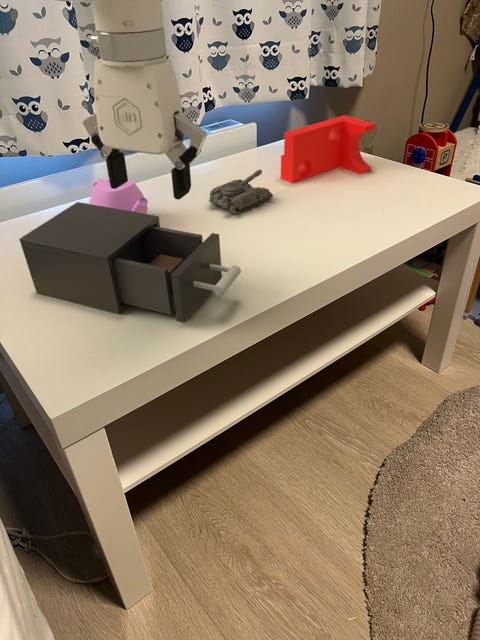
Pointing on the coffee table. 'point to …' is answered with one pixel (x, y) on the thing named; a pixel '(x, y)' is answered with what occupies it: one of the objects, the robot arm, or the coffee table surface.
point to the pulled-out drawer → (187, 280)
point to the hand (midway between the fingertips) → (150, 190)
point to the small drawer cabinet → (83, 253)
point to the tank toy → (239, 195)
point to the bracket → (324, 148)
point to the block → (168, 265)
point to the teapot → (118, 196)
